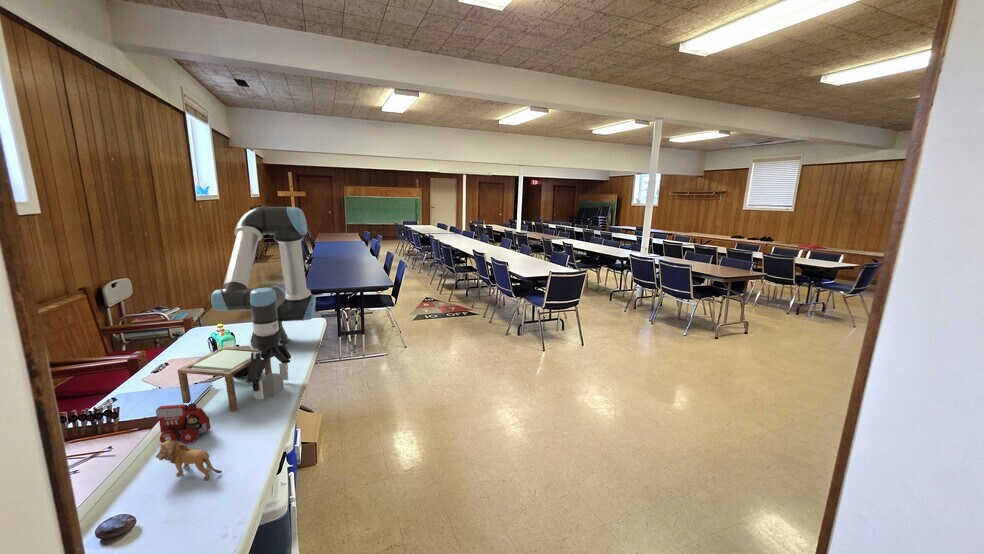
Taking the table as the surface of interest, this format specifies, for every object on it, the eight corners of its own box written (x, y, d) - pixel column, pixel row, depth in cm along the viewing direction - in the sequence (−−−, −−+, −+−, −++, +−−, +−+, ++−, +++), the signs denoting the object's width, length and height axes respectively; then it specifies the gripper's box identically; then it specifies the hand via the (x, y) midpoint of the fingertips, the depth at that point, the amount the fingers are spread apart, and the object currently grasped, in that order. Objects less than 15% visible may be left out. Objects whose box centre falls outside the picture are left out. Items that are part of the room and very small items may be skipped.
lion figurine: (156, 479, 94) (149, 448, 92) (173, 464, 100) (168, 434, 98) (215, 481, 95) (210, 450, 93) (229, 466, 100) (225, 436, 98)
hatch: (224, 351, 139) (224, 349, 138) (260, 354, 137) (260, 351, 137) (193, 368, 126) (192, 365, 125) (232, 371, 124) (231, 368, 124)
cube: (271, 387, 139) (269, 372, 137) (284, 388, 138) (282, 373, 137) (261, 394, 134) (260, 379, 133) (275, 396, 134) (273, 380, 132)
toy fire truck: (204, 442, 109) (198, 410, 106) (154, 446, 106) (147, 413, 104) (216, 427, 115) (211, 397, 113) (169, 431, 113) (163, 400, 110)
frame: (228, 379, 144) (223, 346, 141) (272, 383, 142) (269, 349, 139) (183, 407, 125) (177, 369, 122) (234, 411, 123) (229, 374, 120)
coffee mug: (242, 380, 143) (239, 356, 141) (223, 377, 145) (220, 353, 143) (266, 367, 154) (264, 344, 152) (248, 364, 156) (245, 341, 154)
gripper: (250, 347, 119) (257, 408, 123) (298, 321, 143) (302, 373, 147) (228, 345, 119) (236, 406, 124) (279, 320, 144) (284, 371, 148)
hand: (272, 388), depth 136 cm, fingers open, 13 cm apart
